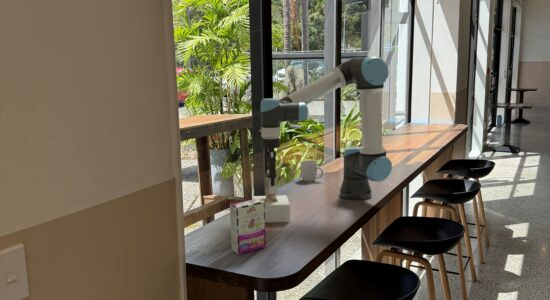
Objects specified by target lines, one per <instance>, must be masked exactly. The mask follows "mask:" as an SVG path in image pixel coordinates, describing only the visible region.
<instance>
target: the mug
mask: <svg viewBox="0 0 550 300" xmlns="http://www.w3.org/2000/svg"><path fill="white" fill-rule="evenodd" d="M318 169H319V171H320V173H321V174H320V175H319V176H318ZM300 176H301V179H302V181H304V182H310V183H311V182H315V181H316V179H321V178H322V177H323V176H324V169H323V168H322V167H321V166H319V165H318V162H317V161H315V160H303V161H300Z"/></svg>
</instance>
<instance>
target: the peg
mask: <svg viewBox="0 0 550 300" xmlns="http://www.w3.org/2000/svg"><path fill="white" fill-rule="evenodd" d="M267 176H269V173H267V172H265V196H266V202H276V196H277V193H276V194H269V178H267Z"/></svg>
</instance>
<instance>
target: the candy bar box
mask: <svg viewBox="0 0 550 300" xmlns="http://www.w3.org/2000/svg"><path fill="white" fill-rule="evenodd" d="M229 211H230V212H229V213H230V215H229V217H230V238H231V239H230V242H231V251H232V252H233V253H235V254H237V255H243V254H247V253H250V252H251V253H252V252H254V251H257V250H258V251H259V250H262V249H265V248H266V247H267V245H266V244H267V243H266V242H267V241H266V239H267V238H266V237H267V236H266V222H265V202H264V201H262V200H259V199H254V200H253V199H251V200H250V199H249V200H245V201H240V202H237V203H231V204H229Z"/></svg>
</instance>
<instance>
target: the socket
mask: <svg viewBox="0 0 550 300" xmlns="http://www.w3.org/2000/svg"><path fill="white" fill-rule="evenodd" d="M254 199H259V200H262V201H264V202H265V223H290V222H291V204H290V202H289V199H288V195H285V194H284V195H276V202H266V195H256V196H255V195H253V197H252V200H254Z"/></svg>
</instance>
